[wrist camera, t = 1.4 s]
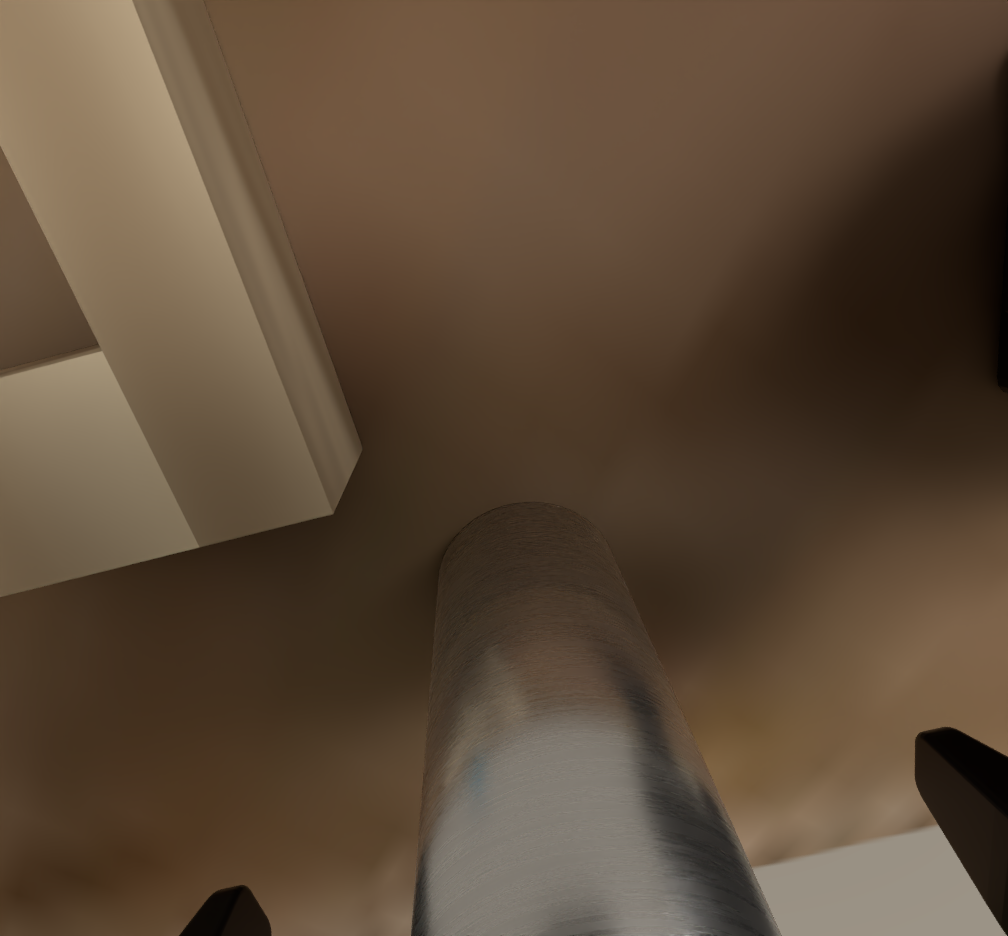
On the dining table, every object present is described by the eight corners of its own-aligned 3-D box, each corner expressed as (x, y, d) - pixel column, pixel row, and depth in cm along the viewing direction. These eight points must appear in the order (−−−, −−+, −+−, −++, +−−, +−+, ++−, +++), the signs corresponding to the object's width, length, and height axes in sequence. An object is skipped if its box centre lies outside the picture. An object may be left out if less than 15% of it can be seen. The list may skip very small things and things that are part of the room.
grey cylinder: (598, 482, 13) (833, 943, 5) (629, 633, 15) (850, 1189, 6) (415, 527, 13) (330, 1053, 5) (464, 672, 15) (464, 1265, 6)
